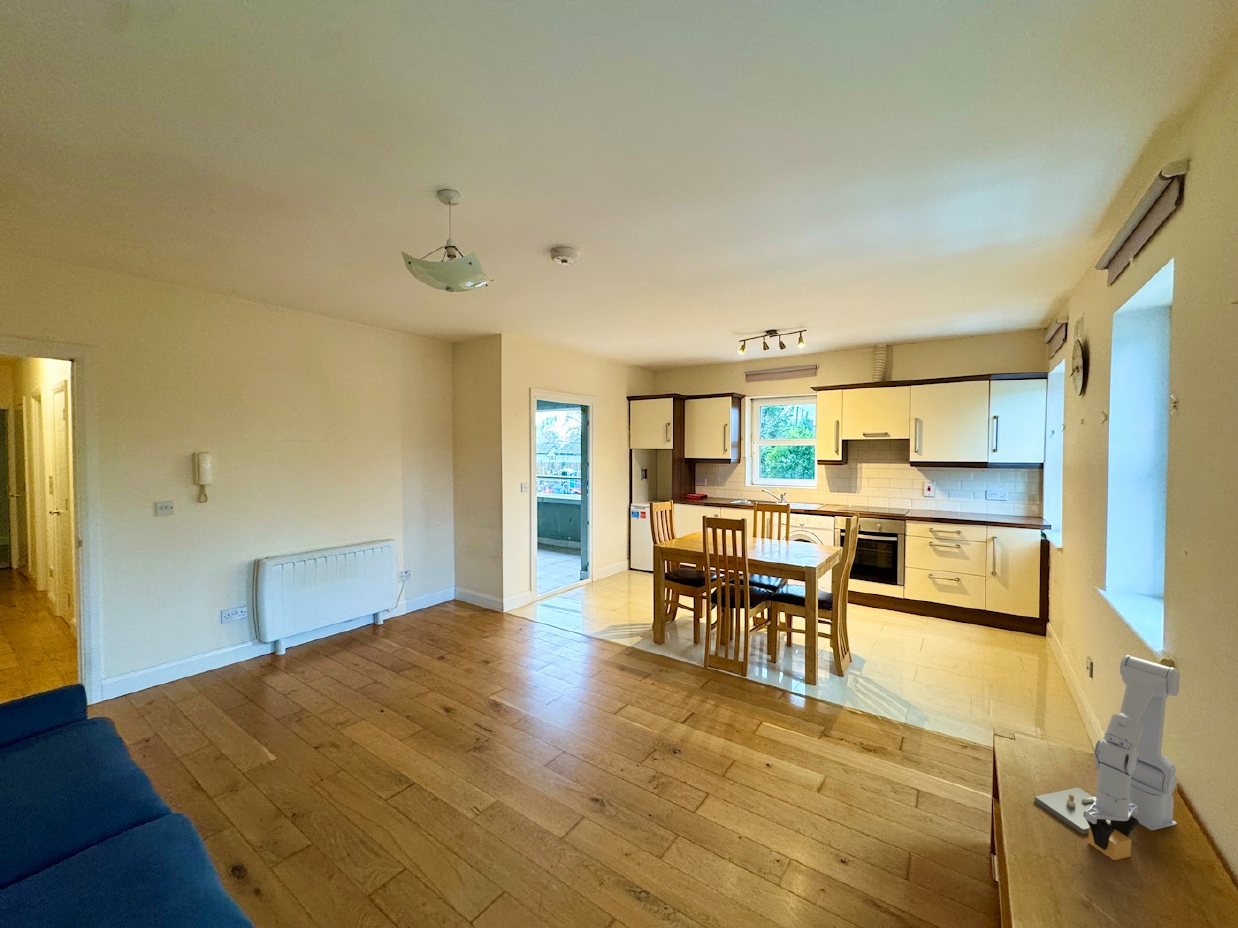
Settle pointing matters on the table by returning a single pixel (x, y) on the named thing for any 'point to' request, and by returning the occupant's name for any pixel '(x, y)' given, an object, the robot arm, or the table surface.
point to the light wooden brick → (1114, 845)
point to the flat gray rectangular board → (1069, 807)
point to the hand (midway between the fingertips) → (1109, 844)
